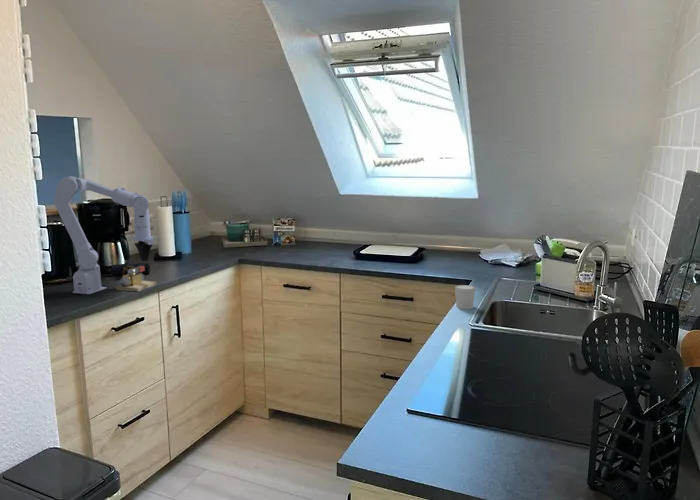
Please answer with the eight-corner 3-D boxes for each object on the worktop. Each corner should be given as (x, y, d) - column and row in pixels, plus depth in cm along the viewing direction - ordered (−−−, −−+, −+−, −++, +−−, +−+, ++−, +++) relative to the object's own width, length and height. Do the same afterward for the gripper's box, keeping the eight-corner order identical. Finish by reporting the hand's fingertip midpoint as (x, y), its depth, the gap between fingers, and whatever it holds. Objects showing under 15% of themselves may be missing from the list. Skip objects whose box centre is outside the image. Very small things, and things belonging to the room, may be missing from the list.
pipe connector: (147, 266, 229) (108, 268, 225) (148, 278, 230) (109, 280, 226) (149, 261, 240) (113, 263, 236) (150, 273, 241) (113, 275, 237)
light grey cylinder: (450, 305, 188) (450, 286, 187) (465, 302, 192) (465, 283, 190) (463, 310, 182) (464, 290, 181) (478, 307, 186) (479, 287, 185)
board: (137, 291, 208) (137, 288, 208) (115, 289, 211) (115, 287, 211) (157, 284, 219) (157, 281, 219) (136, 282, 222) (136, 280, 222)
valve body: (129, 287, 210) (128, 278, 209) (118, 286, 212) (118, 277, 211) (145, 281, 220) (145, 272, 219) (135, 281, 221) (135, 271, 220)
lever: (132, 275, 213) (132, 270, 213) (126, 275, 214) (126, 270, 213) (145, 270, 222) (145, 265, 221) (139, 270, 222) (139, 265, 222)
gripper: (160, 227, 209) (162, 261, 212) (144, 223, 220) (147, 256, 222) (142, 229, 205) (144, 264, 207) (127, 225, 215) (129, 258, 217)
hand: (144, 260), depth 214 cm, fingers closed
